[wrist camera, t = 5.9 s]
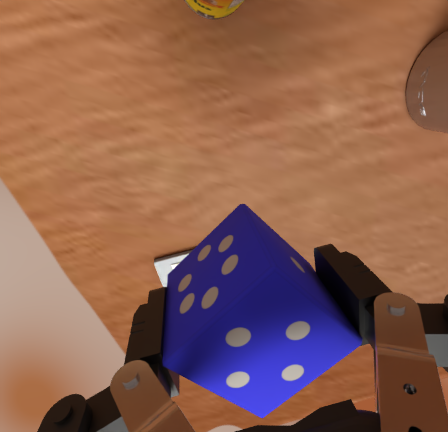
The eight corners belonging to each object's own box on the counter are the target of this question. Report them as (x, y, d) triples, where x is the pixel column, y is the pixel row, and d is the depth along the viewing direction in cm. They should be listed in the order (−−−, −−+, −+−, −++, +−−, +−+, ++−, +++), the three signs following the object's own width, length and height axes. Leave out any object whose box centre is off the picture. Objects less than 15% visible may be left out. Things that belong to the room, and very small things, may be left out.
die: (309, 263, 15) (367, 343, 10) (238, 324, 16) (262, 421, 11) (241, 200, 13) (275, 265, 8) (165, 274, 14) (159, 368, 9)
